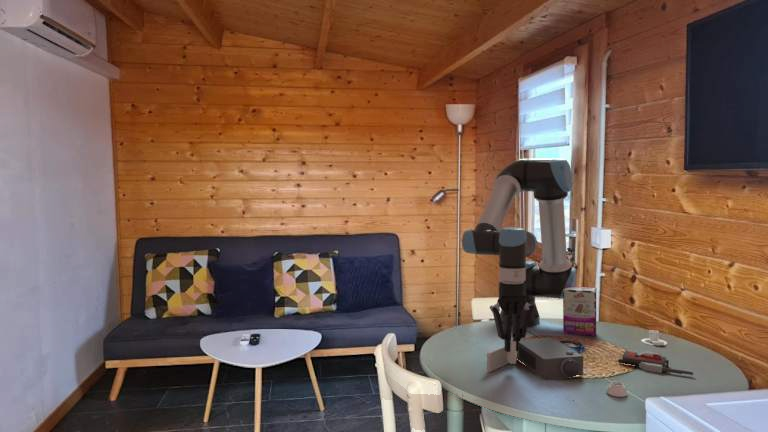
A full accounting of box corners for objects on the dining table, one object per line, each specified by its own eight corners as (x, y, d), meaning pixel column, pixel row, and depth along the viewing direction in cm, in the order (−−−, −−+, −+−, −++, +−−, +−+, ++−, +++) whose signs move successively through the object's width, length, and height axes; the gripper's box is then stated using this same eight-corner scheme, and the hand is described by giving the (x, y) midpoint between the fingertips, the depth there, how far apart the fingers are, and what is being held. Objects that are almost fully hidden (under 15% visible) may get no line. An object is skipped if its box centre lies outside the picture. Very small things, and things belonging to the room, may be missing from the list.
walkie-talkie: (616, 367, 169) (693, 379, 158) (616, 353, 168) (693, 364, 158) (621, 359, 176) (694, 370, 166) (621, 345, 176) (695, 355, 165)
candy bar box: (596, 331, 204) (597, 287, 201) (596, 336, 199) (596, 291, 196) (563, 328, 208) (564, 285, 205) (562, 333, 203) (562, 289, 201)
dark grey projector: (516, 359, 176) (516, 338, 175) (552, 356, 178) (552, 336, 177) (546, 382, 156) (546, 359, 156) (586, 379, 158) (586, 355, 158)
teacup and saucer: (665, 348, 186) (665, 336, 186) (639, 345, 190) (639, 333, 190) (668, 341, 193) (668, 330, 193) (643, 338, 198) (643, 327, 197)
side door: (513, 359, 176) (513, 340, 175) (516, 359, 175) (516, 341, 174) (486, 371, 165) (486, 351, 165) (489, 372, 164) (489, 352, 164)
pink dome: (628, 399, 145) (625, 391, 150) (629, 387, 145) (625, 380, 149) (607, 397, 146) (605, 390, 151) (608, 386, 146) (605, 379, 151)
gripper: (495, 284, 158) (495, 368, 159) (539, 283, 160) (538, 364, 162) (485, 280, 165) (485, 359, 167) (527, 278, 168) (526, 356, 169)
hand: (511, 362), depth 164 cm, fingers closed
